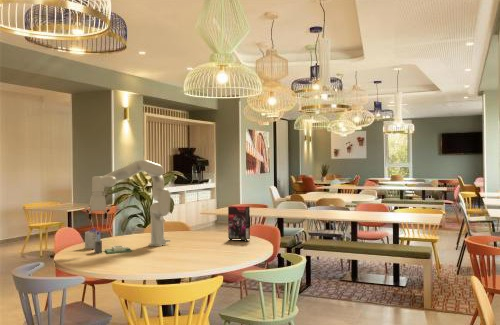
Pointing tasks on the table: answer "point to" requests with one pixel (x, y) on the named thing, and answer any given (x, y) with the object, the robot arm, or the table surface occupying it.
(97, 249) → the plug
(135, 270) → the table surface
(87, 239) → the ink cartridge box
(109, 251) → the circuit board
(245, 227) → the graphics card box
